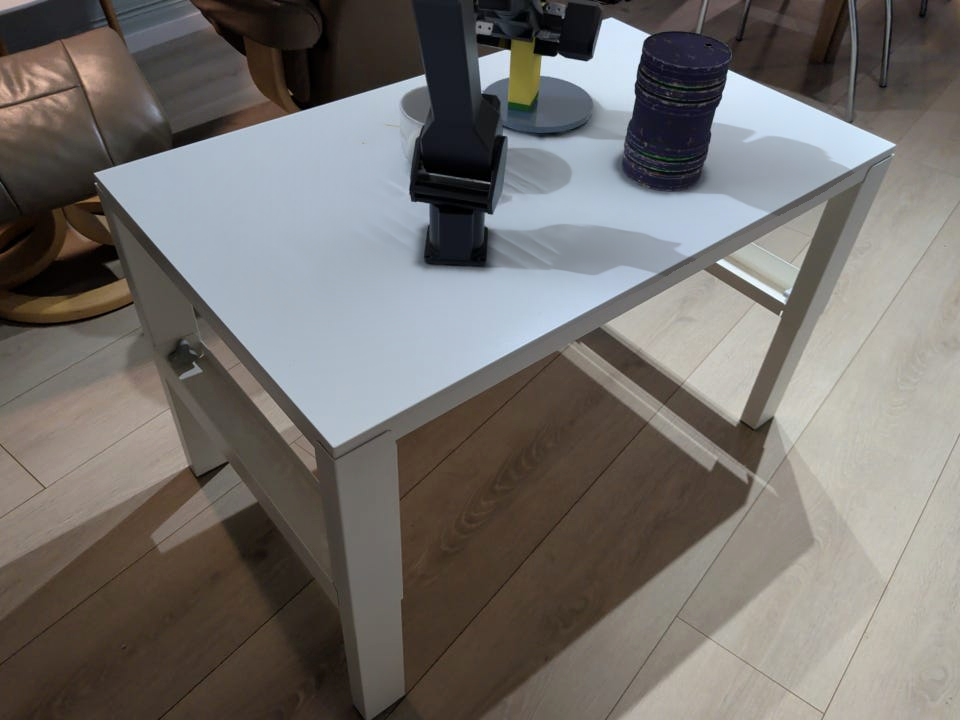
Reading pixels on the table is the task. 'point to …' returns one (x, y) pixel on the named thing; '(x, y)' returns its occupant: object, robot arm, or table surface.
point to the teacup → (413, 119)
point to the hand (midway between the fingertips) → (529, 49)
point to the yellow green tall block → (523, 75)
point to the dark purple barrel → (674, 109)
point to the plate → (546, 106)
